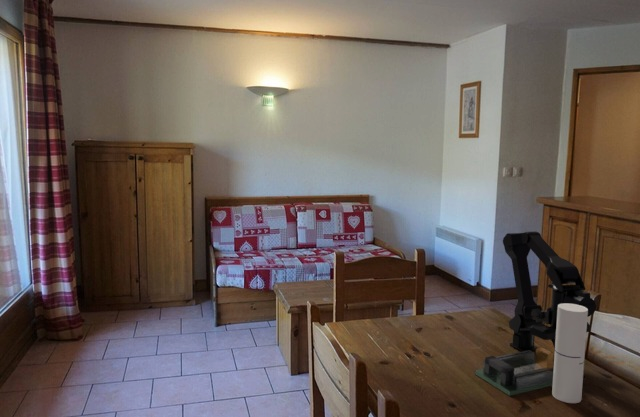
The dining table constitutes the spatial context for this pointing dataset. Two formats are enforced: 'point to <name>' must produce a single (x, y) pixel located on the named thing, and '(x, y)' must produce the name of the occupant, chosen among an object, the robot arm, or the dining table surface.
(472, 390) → the dining table surface
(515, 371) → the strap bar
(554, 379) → the cylindrical container
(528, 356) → the green plate fixture
